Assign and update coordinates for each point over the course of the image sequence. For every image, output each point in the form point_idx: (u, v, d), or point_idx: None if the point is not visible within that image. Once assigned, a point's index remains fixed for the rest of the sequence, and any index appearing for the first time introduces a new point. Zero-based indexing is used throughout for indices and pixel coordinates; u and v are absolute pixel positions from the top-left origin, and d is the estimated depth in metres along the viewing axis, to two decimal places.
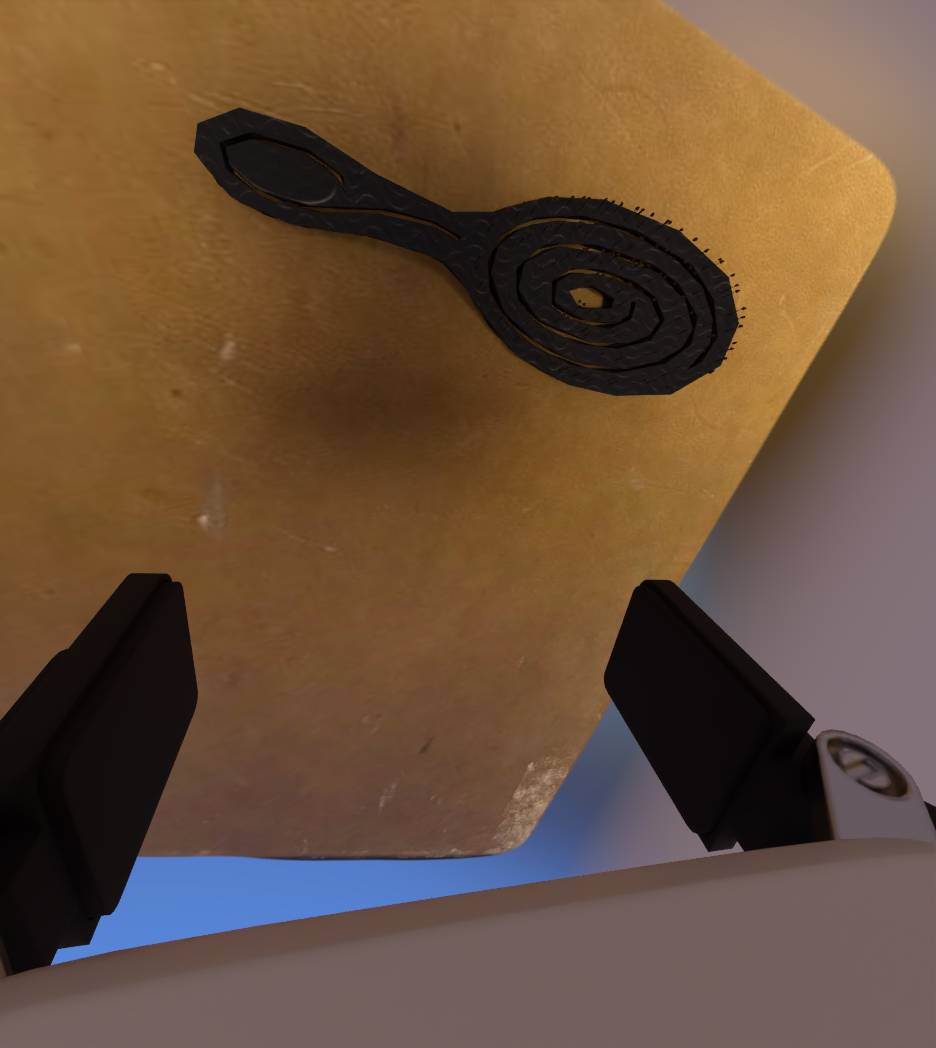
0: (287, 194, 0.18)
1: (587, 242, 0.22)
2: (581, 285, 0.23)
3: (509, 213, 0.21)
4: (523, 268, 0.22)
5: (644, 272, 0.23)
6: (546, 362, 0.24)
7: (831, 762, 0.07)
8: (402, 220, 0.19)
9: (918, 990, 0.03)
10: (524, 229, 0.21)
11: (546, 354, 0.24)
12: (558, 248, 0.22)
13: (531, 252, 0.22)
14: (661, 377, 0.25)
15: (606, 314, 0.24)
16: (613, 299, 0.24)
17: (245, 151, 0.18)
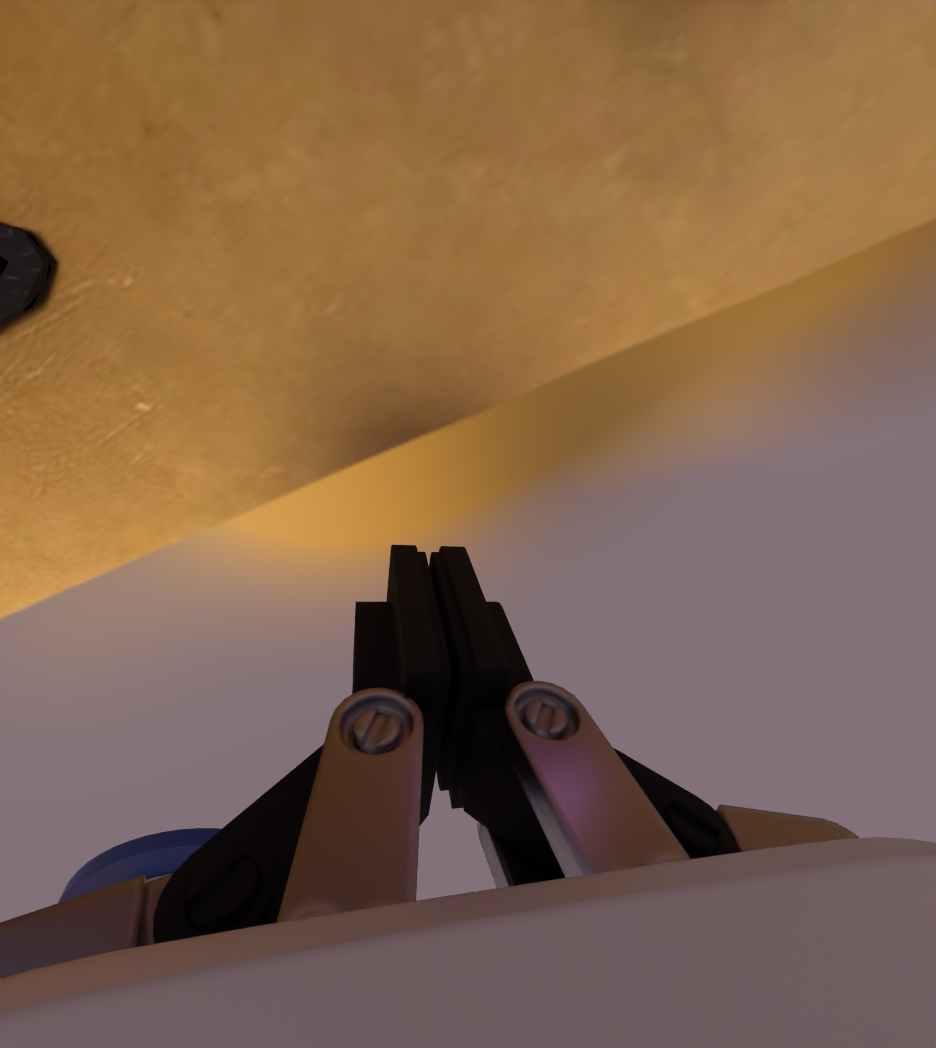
0: None
1: None
2: None
3: None
4: None
5: None
6: None
7: (527, 734, 0.06)
8: None
9: (918, 990, 0.03)
10: None
11: None
12: None
13: None
14: None
15: None
16: None
17: None
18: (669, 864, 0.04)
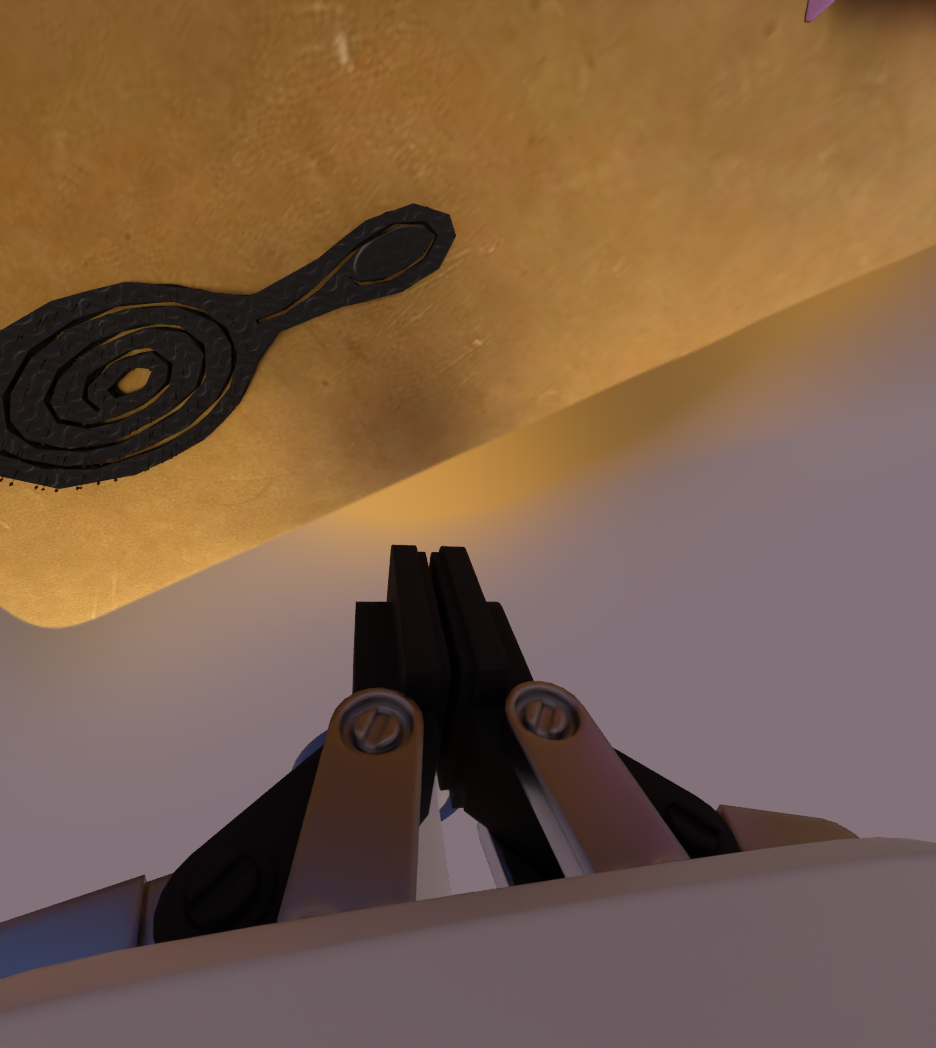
0: (380, 239, 0.22)
1: (181, 409, 0.24)
2: (149, 381, 0.24)
3: (247, 371, 0.24)
4: (200, 349, 0.23)
5: (119, 432, 0.24)
6: (95, 300, 0.22)
7: (527, 734, 0.06)
8: (301, 294, 0.22)
9: (918, 990, 0.03)
10: (227, 372, 0.24)
11: (104, 307, 0.22)
12: (194, 386, 0.24)
13: (207, 365, 0.24)
14: None
15: (104, 382, 0.23)
16: (115, 397, 0.23)
17: (421, 244, 0.23)
18: (669, 864, 0.04)
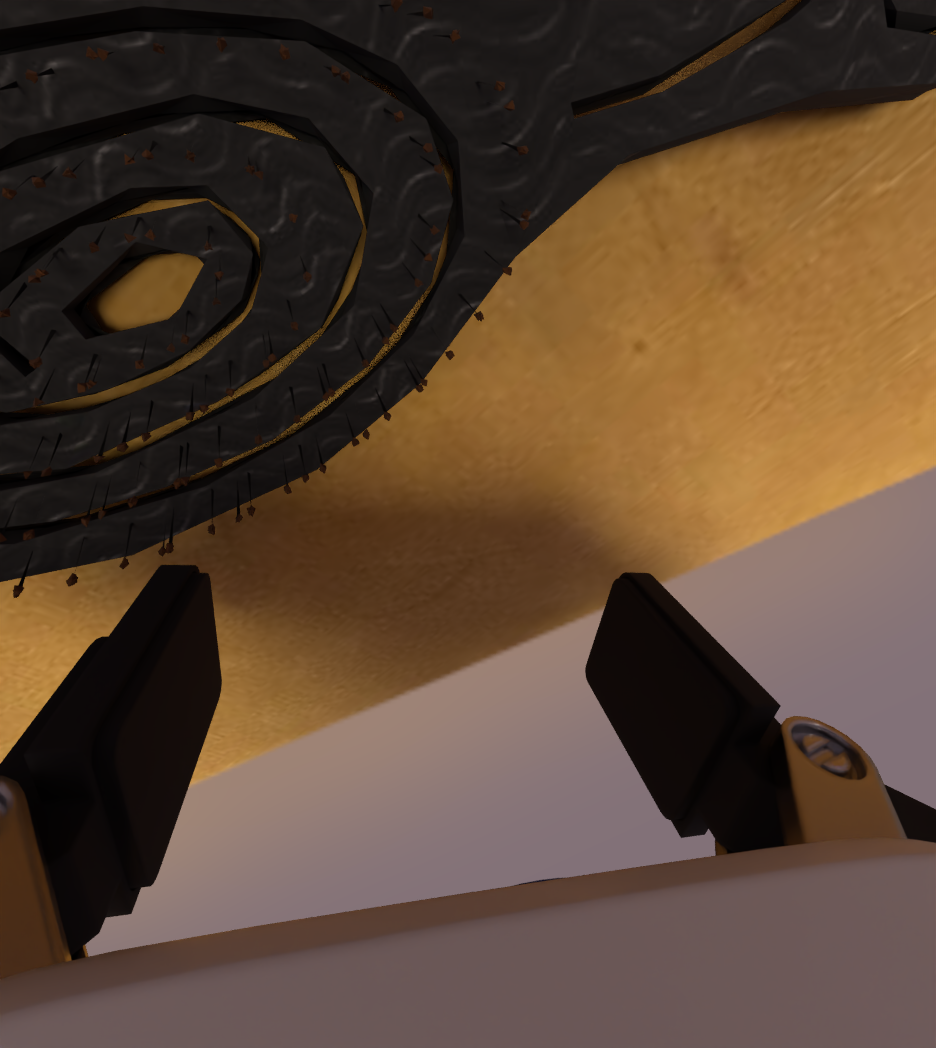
0: None
1: (273, 385, 0.09)
2: (192, 297, 0.08)
3: (477, 287, 0.08)
4: (355, 209, 0.08)
5: (93, 442, 0.08)
6: None
7: (796, 749, 0.07)
8: (739, 22, 0.07)
9: (918, 990, 0.03)
10: (420, 289, 0.08)
11: (63, 8, 0.06)
12: (318, 322, 0.08)
13: (367, 260, 0.08)
14: None
15: (53, 286, 0.07)
16: (87, 336, 0.08)
17: None
18: (669, 864, 0.04)
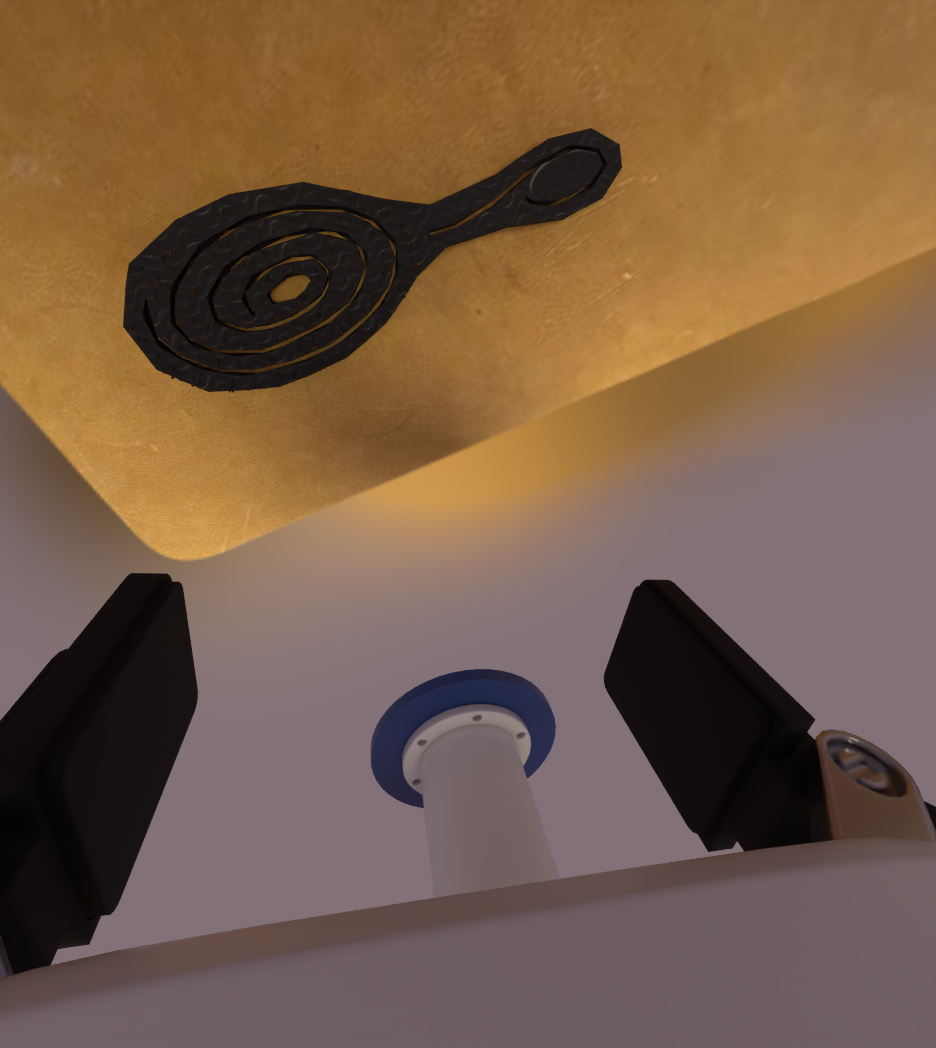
0: (557, 160, 0.22)
1: (332, 322, 0.24)
2: (306, 290, 0.23)
3: (404, 286, 0.24)
4: (362, 260, 0.23)
5: (270, 341, 0.24)
6: (271, 198, 0.21)
7: (831, 762, 0.07)
8: (477, 208, 0.22)
9: (918, 990, 0.03)
10: (385, 287, 0.24)
11: (278, 206, 0.22)
12: (348, 299, 0.24)
13: (366, 277, 0.23)
14: (157, 272, 0.21)
15: (264, 286, 0.23)
16: (271, 303, 0.23)
17: (591, 171, 0.23)
18: (669, 864, 0.04)
